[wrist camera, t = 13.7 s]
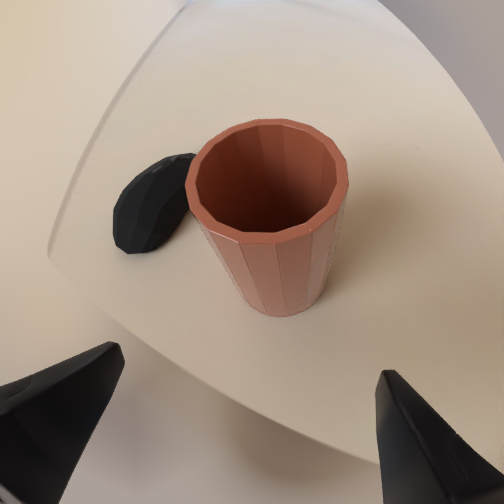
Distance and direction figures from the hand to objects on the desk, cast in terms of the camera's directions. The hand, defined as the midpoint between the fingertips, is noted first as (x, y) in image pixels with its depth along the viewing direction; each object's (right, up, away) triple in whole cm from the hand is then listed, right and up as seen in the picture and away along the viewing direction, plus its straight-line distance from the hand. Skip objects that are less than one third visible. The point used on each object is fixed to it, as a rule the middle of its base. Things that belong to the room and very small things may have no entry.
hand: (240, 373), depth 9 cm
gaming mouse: (-7, +10, +19) cm, 23 cm away
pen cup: (+3, +2, +14) cm, 15 cm away
